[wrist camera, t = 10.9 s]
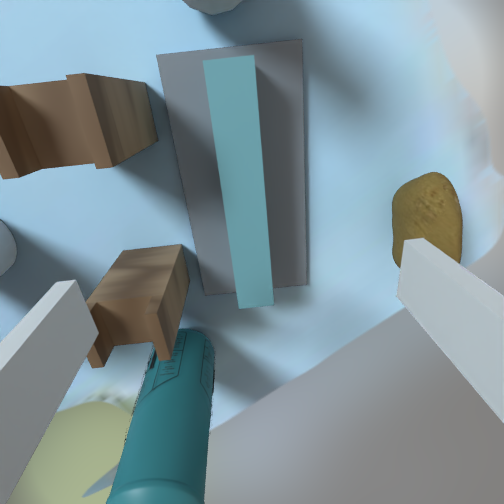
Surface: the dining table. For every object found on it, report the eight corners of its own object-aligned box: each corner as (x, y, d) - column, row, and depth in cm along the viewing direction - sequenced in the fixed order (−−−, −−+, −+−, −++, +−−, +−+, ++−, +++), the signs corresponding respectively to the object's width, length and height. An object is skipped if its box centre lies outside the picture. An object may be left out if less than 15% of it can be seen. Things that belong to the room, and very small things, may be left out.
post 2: (134, 287, 30) (92, 368, 21) (122, 250, 28) (70, 322, 19) (189, 280, 30) (170, 359, 21) (181, 244, 28) (156, 313, 19)
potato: (399, 262, 30) (450, 313, 23) (344, 219, 28) (382, 262, 21) (457, 206, 28) (534, 244, 21) (402, 155, 25) (468, 178, 18)
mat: (205, 292, 30) (205, 295, 30) (158, 55, 21) (156, 54, 21) (305, 281, 30) (306, 284, 30) (300, 40, 21) (302, 38, 21)
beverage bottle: (158, 312, 31) (58, 597, 14) (222, 321, 32) (208, 598, 14) (154, 358, 34) (66, 644, 16) (213, 365, 35) (191, 642, 17)
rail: (238, 283, 29) (238, 309, 26) (207, 66, 21) (202, 60, 18) (269, 280, 29) (274, 305, 26) (250, 61, 21) (254, 54, 18)
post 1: (89, 148, 24) (2, 179, 15) (70, 90, 22) (-41, 86, 13) (158, 140, 24) (112, 167, 15) (145, 82, 22) (84, 73, 13)
